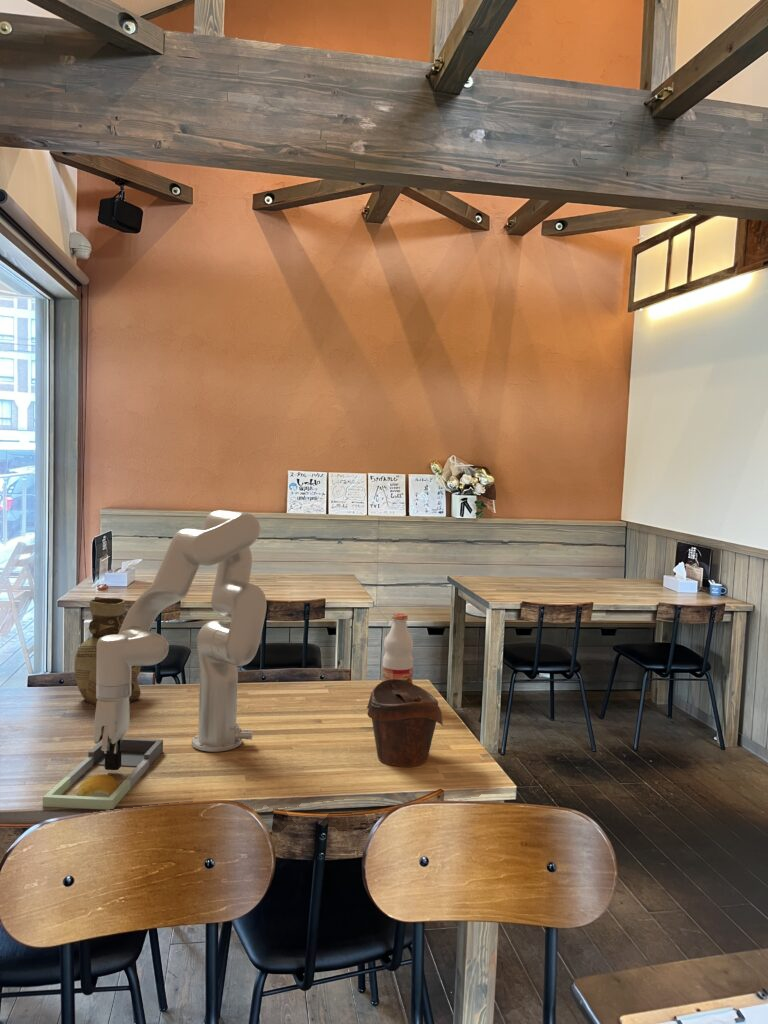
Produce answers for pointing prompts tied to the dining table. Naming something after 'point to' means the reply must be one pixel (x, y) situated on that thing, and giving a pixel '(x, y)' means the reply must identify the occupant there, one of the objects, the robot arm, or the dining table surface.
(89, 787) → the bread roll
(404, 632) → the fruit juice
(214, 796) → the dining table surface
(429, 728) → the brown trash bin
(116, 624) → the ceramic vessel
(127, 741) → the channel
